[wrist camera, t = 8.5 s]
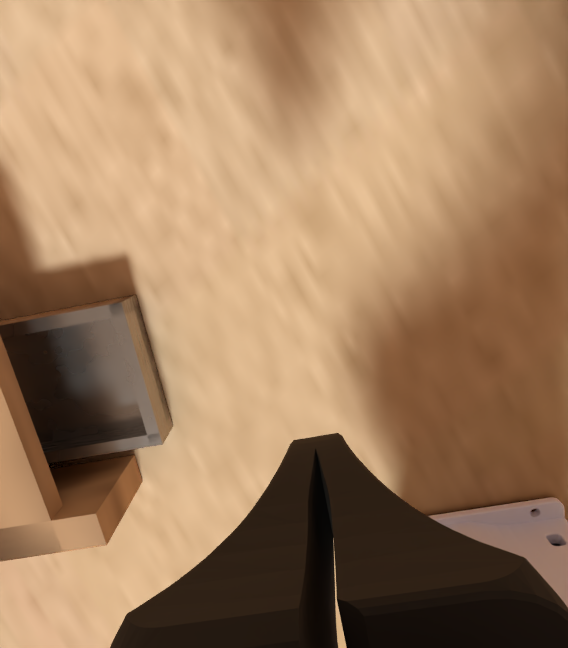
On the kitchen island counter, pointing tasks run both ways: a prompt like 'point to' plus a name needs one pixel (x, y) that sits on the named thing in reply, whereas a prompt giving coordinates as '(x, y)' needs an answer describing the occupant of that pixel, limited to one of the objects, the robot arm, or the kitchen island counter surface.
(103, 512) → the overhang
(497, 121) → the kitchen island counter surface
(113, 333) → the tray
